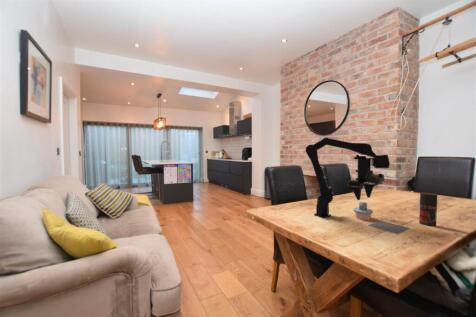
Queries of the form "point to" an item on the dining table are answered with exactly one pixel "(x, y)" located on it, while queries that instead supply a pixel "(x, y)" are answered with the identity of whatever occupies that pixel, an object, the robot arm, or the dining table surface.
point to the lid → (363, 209)
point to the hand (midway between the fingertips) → (363, 198)
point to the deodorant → (428, 209)
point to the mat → (389, 227)
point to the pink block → (362, 216)
